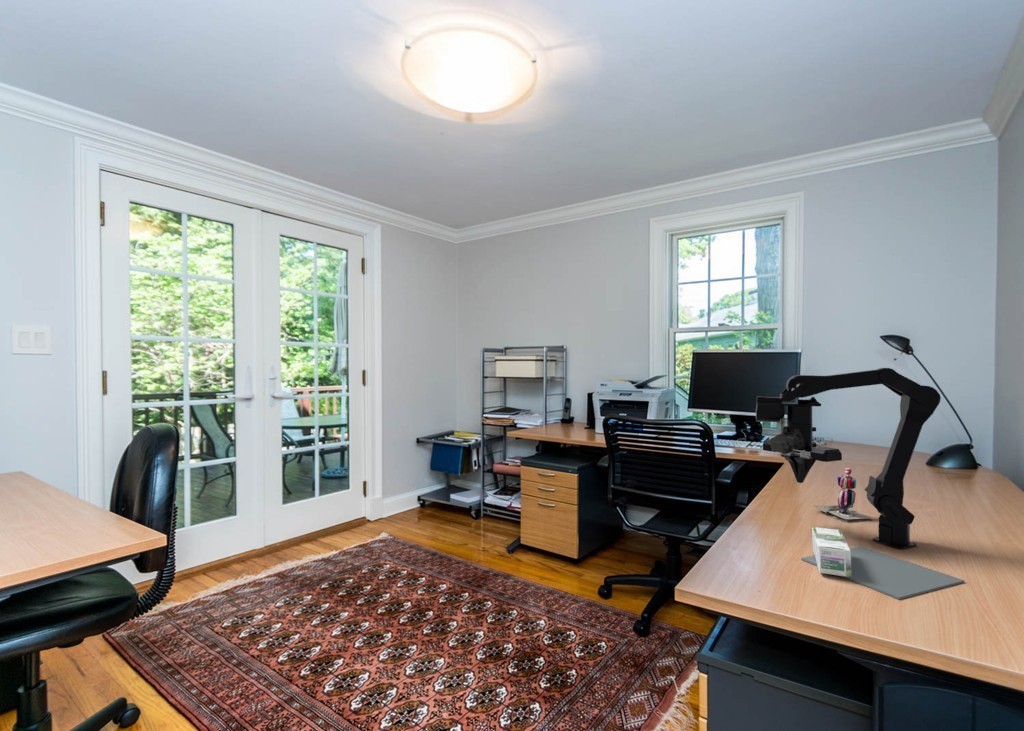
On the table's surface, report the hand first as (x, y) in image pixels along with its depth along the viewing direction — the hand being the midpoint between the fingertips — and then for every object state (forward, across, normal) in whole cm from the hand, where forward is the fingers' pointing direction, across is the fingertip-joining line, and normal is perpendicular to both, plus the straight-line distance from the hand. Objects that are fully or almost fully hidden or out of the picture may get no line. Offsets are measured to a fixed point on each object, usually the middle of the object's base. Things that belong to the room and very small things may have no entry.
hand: (800, 482), depth 127 cm
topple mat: (+13, +23, -6) cm, 27 cm away
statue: (+13, -6, +24) cm, 28 cm away
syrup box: (+10, +13, -8) cm, 18 cm away
